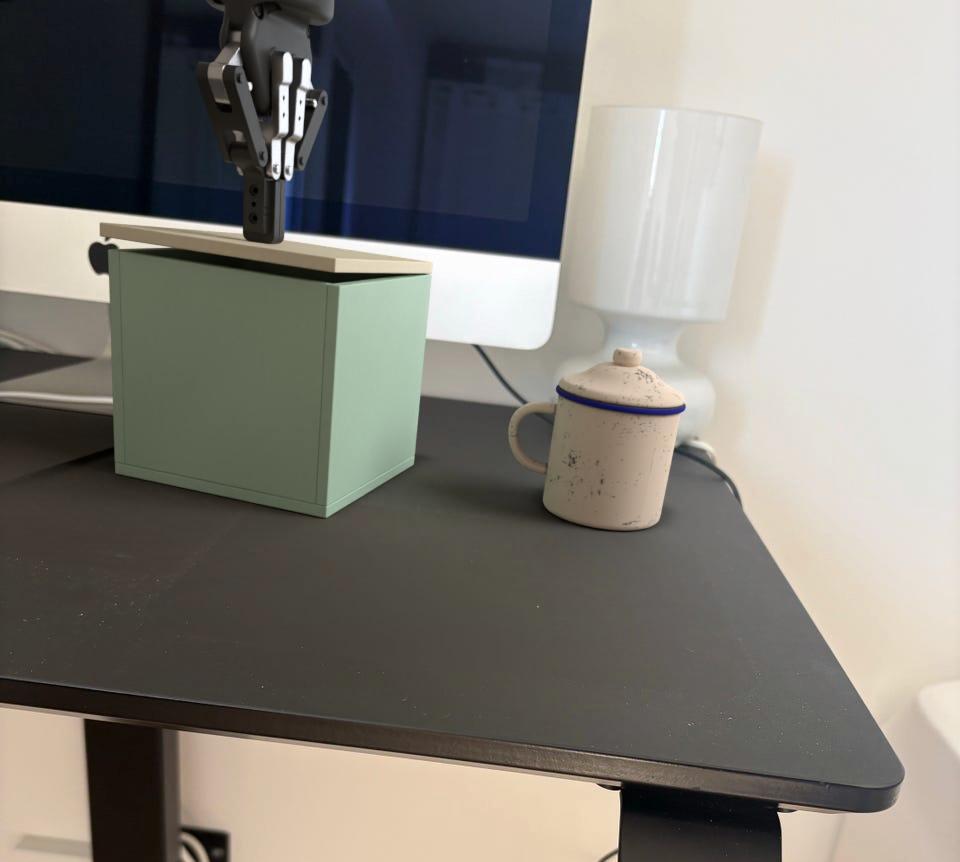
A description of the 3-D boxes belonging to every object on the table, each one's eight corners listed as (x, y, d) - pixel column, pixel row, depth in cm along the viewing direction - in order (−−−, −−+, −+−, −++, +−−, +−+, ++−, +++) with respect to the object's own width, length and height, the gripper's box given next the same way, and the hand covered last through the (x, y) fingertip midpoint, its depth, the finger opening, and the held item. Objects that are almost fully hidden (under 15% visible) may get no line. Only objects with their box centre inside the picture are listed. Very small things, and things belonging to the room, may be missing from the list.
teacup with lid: (659, 504, 77) (690, 350, 72) (665, 541, 69) (701, 369, 64) (505, 482, 78) (525, 327, 73) (493, 515, 69) (515, 343, 65)
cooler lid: (335, 272, 58) (336, 258, 57) (99, 236, 61) (98, 222, 61) (432, 273, 73) (433, 262, 73) (240, 244, 77) (240, 233, 76)
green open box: (326, 518, 64) (339, 285, 59) (114, 473, 68) (107, 249, 62) (414, 464, 79) (432, 274, 73) (236, 430, 82) (240, 245, 77)
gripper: (266, -56, 64) (259, 234, 71) (147, -121, 52) (152, 235, 59) (376, -48, 62) (357, 248, 69) (278, -112, 51) (267, 252, 58)
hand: (263, 242), depth 64 cm, fingers closed
